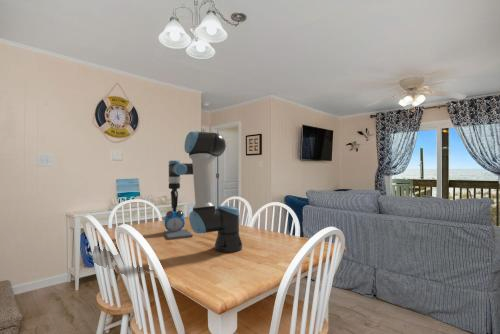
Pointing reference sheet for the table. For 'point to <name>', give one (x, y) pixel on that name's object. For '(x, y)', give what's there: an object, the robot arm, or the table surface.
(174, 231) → the mat
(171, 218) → the alarm clock
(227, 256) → the table surface
